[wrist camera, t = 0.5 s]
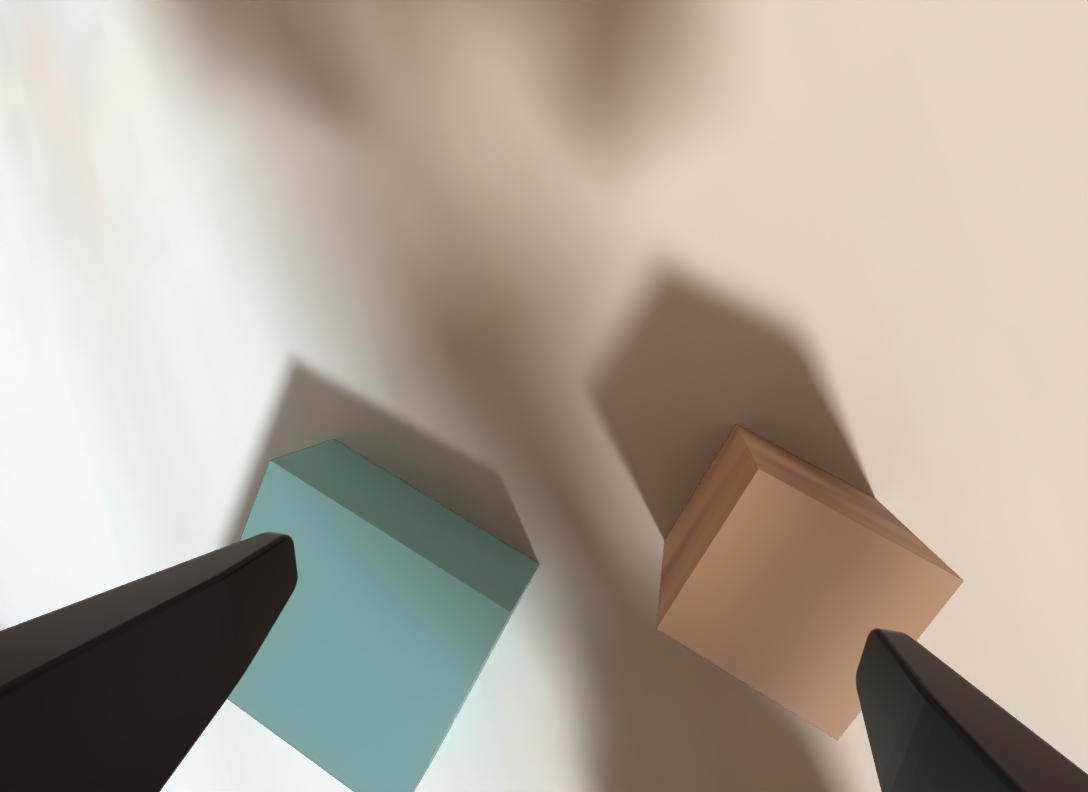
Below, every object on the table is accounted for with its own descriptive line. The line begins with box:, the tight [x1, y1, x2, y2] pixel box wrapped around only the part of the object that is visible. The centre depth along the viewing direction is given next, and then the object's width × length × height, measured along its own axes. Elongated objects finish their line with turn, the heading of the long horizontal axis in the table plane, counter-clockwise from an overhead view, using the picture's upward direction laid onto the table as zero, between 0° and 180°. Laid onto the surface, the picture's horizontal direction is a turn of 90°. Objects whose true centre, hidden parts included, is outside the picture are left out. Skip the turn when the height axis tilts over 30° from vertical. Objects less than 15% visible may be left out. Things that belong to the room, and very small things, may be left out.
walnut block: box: [656, 424, 963, 740], centre depth 16 cm, size 5×5×6 cm
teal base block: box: [227, 439, 539, 792], centre depth 22 cm, size 10×10×4 cm
